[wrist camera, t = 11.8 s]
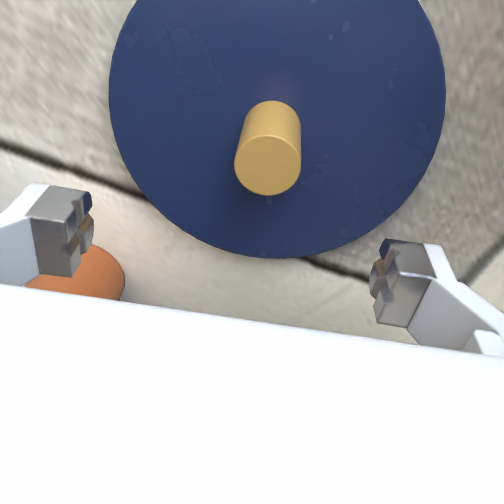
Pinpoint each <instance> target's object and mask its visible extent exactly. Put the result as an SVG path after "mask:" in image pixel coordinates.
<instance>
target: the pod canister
mask: <svg viewBox="0 0 504 504" xmlns="http://www.w3.org/2000/svg"><path fill="white" fill-rule="evenodd" d="M124 285H125V278H124V273H123V271H122V268H121V267H120V265H119V263H118V262H117V261H116V260H115V259H114V258H113V257H112V256H111V255H110V254H109V253H107V252H106V251H104V250H103V249H101V248H99V247H97V246H94V245H92V244H91V246H90V248H89V249H88V251H87V252H86V253H84V254H82V255H81V263H80V265H79V267H78V269H77V270H76V272H75V274H74V276H73V277H72V278H69V277H60V276H52V275H44V274H40V276H38V277H37V278H35V279H33V280H32V281H30V282H29V283H27V284H26V285H25V286H24V287H28V288H35V289H41V290H48V291H55V292H62V293H69V294H75V295H82V296H89V297H96V298H103V299H110V300H116V301H118V299H119V297H120V295H121V293H122V291H123V288H124Z"/></svg>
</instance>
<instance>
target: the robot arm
mask: <svg viewBox="0 0 504 504" xmlns="http://www.w3.org/2000/svg"><path fill="white" fill-rule="evenodd" d="M91 207H92V199H91V195H90V193H89V192H87V191H81V190H76V189H70V188H64V187H58V186H51V185H47V184H40V183H30V184H29V185H28V186H27V187H26V188H25V189H24V190H23V191H22V192H21V193H20V194H19V196H18V197H17V198H16V199H15V200H14V201H13V202H12V203H11V204H10V205H9V206H8V207H7V208H6V210H5V211H4V212H3V213H1V212H0V504H504V314H503V313H502V312H501V311H499V310H498V309H497V308H495V307H494V306H493V305H491V304H490V303H489V302H487V301H486V300H485V299H483V298H482V297H481V296H479V295H478V294H477V293H475V292H474V291H473V290H472V289H470V288H469V287H468V286H466V285H465V284H464V283H460V282H457V280H456V278H455V275H454V273H453V271H452V269H451V267H450V265H449V262H448V260H447V258H446V256H445V254H444V251H443V249H442V247H440V246H439V245H433V244H425V243H416V242H408V241H401V240H393V239H385V240H384V241H383V242H382V245H381V247H380V249H379V252H380V256H381V258H380V259H379V260H377V261H376V262H375V263H374V265H373V268H372V270H371V274H370V280H369V288H370V294H371V295H372V296H373V297H374V298H375V299H376V300H375V302H374V305H373V308H374V312H375V317H376V321H377V323H379V324H385V325H391V326H396V327H402V328H407V331H408V332H409V333H410V334H411V335H412V337H413V338H414V339H415V340H416V341H417V342H418V344H419V345H416V344H410V343H403V342H396V341H389V340H382V339H375V338H369V337H362V336H355V335H348V334H341V333H335V332H328V331H321V330H314V329H307V328H300V327H294V326H287V325H280V324H273V323H266V322H259V321H253V320H246V319H239V318H232V317H225V316H219V315H212V314H205V313H198V312H191V311H184V310H178V309H171V308H164V307H157V306H150V305H144V304H137V303H130V302H123V301H116V300H110V299H103V298H96V297H89V296H82V295H75V294H69V293H62V292H55V291H48V290H41V289H35V288H28V287H22V286H24V285H25V284H27V283H29V282H30V281H32V280H33V279H35V278H37V277H38V276H40V274H44V275H52V276H60V277H69V278H72V277H73V276H74V274H75V272H76V270H77V269H78V267H79V265H80V263H81V255H82V254H84V253H86V252H87V251H88V249H89V248H90V246H91V242H92V239H93V233H94V221H93V219H92V217H91V216H90V215H89V214H88V212H89V210H90V209H91Z"/></svg>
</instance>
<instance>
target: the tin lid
mask: <svg viewBox="0 0 504 504" xmlns="http://www.w3.org/2000/svg"><path fill="white" fill-rule="evenodd" d="M445 101H446V84H445V71H444V65H443V61H442V56H441V52H440V47H439V44H438V41H437V39H436V36H435V33H434V31H433V28H432V26H431V23H430V21H429V19H428V18H427V16H426V14H425V12H424V11H423V9H422V7H421V5H420V4H419V2H418V0H137V1H136V3H135V4H134V6H133V7H132V9H131V11H130V12H129V14H128V16H127V18H126V20H125V23H124V25H123V27H122V29H121V31H120V33H119V36H118V39H117V43H116V46H115V49H114V53H113V56H112V62H111V69H110V75H109V108H110V117H111V123H112V128H113V132H114V136H115V140H116V143H117V146H118V148H119V151H120V154H121V156H122V159H123V161H124V163H125V165H126V167H127V169H128V171H129V173H130V174H131V176H132V178H133V179H134V181H135V182H136V184H137V185H138V187H139V188H140V190H141V191H142V193H143V194H144V195H145V196H146V197H147V199H148V200H149V201H150V202H151V203H152V204H153V205H154V207H155V208H156V209H157V210H159V211H160V212H161V213H162V214H163V215H164V216H165V217H166V218H167V219H168V220H170V221H171V222H172V223H174V224H175V225H176V226H178V227H179V228H180V229H182V230H183V231H185V232H186V233H188V234H190V235H192V236H193V237H195V238H197V239H198V240H201V241H203V242H205V243H207V244H209V245H212V246H214V247H216V248H219V249H222V250H225V251H228V252H231V253H236V254H240V255H245V256H250V257H259V258H274V259H286V258H296V257H304V256H309V255H314V254H319V253H323V252H326V251H329V250H332V249H335V248H338V247H341V246H343V245H345V244H347V243H350V242H352V241H354V240H356V239H358V238H359V237H361V236H363V235H365V234H366V233H368V232H370V231H371V230H373V229H374V228H375V227H377V226H378V225H380V224H381V223H382V222H384V221H385V220H386V219H387V218H388V217H389V216H391V215H392V214H393V213H394V212H395V211H396V210H397V209H398V208H399V207H400V206H401V205H402V204H403V203H404V201H405V200H406V199H407V198H408V197H409V196H410V194H411V193H412V192H413V191H414V189H415V188H416V186H417V185H418V183H419V181H420V180H421V178H422V177H423V175H424V174H425V172H426V170H427V168H428V166H429V164H430V162H431V160H432V158H433V155H434V152H435V150H436V147H437V144H438V141H439V138H440V135H441V130H442V125H443V120H444V115H445Z"/></svg>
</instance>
